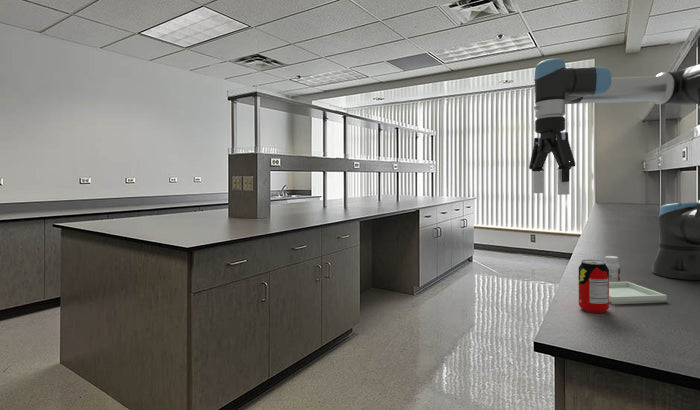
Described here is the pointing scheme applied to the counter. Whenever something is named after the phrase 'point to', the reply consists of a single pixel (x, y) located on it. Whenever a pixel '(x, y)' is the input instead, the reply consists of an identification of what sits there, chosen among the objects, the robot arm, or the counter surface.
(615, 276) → the pill bottle
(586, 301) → the beverage can
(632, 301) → the tray
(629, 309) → the counter surface
